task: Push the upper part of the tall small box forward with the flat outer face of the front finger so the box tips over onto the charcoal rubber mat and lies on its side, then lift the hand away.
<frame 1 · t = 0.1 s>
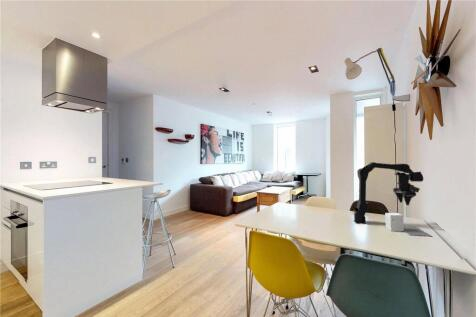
hand: (404, 203, 143), 15 cm above the table, tool pointing down, fingers open, 9 cm apart
small box: (394, 230, 133), on the table
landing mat: (412, 231, 131), on the table
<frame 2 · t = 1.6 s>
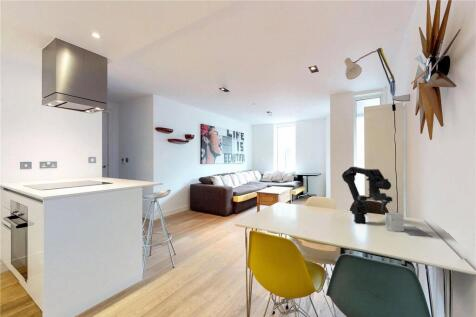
hand: (374, 211, 137), 12 cm above the table, tool pointing down, fingers open, 9 cm apart
nothing on the table moved.
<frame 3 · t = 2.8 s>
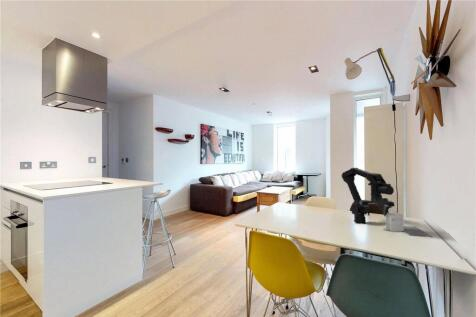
hand: (376, 216, 136), 9 cm above the table, tool pointing down, fingers open, 9 cm apart
small box: (394, 230, 133), on the table, touching gripper
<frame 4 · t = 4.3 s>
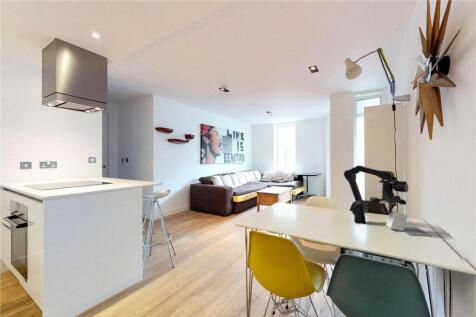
hand: (387, 213, 135), 10 cm above the table, tool pointing down, fingers closed
small box: (394, 228, 134), point 1 cm above the table, touching gripper
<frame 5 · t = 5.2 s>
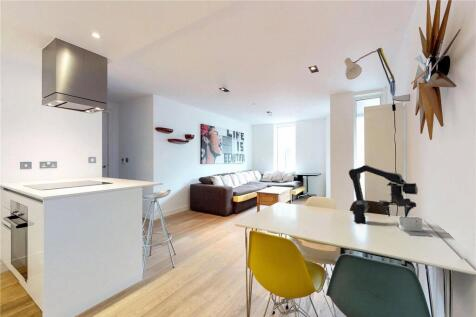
hand: (397, 216, 133), 9 cm above the table, tool pointing down, fingers open, 9 cm apart
small box: (400, 222, 133), point 4 cm above the table, touching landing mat
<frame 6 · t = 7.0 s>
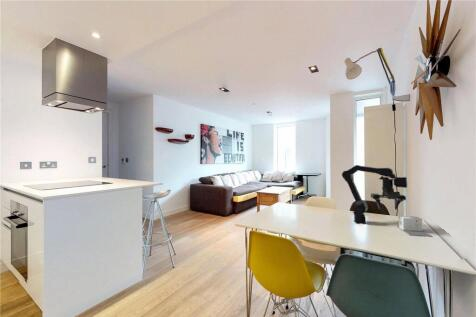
hand: (387, 209, 139), 12 cm above the table, tool pointing down, fingers open, 9 cm apart
nothing on the table moved.
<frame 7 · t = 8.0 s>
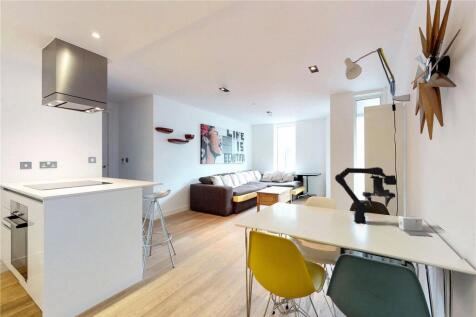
hand: (378, 206, 145), 13 cm above the table, tool pointing down, fingers open, 9 cm apart
nothing on the table moved.
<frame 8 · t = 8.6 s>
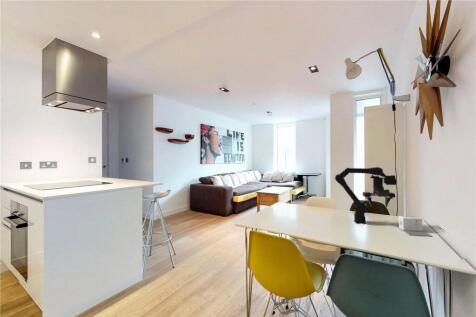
hand: (378, 206, 145), 13 cm above the table, tool pointing down, fingers open, 9 cm apart
nothing on the table moved.
at the end: small box tilted 91°; small box touching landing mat; small box inside the target area (1.3 cm from its centre), point 4.5 cm above the table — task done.
